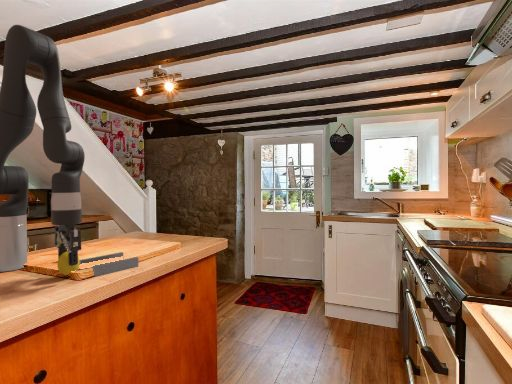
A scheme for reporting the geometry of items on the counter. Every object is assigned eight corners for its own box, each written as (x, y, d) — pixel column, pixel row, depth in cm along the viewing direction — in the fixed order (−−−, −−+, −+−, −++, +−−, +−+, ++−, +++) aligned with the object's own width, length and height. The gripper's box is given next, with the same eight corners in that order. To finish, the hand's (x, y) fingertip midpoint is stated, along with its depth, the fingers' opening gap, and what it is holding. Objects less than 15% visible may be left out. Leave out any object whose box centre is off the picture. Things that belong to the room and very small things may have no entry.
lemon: (68, 273, 90) (68, 247, 90) (84, 274, 89) (83, 248, 89) (53, 279, 85) (52, 251, 85) (69, 280, 84) (68, 252, 83)
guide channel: (79, 269, 94) (79, 260, 94) (121, 260, 105) (121, 252, 105) (94, 276, 87) (94, 266, 87) (138, 266, 98) (138, 257, 98)
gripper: (90, 208, 84) (91, 264, 84) (72, 206, 93) (73, 256, 94) (60, 210, 78) (61, 270, 79) (43, 207, 87) (45, 261, 88)
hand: (67, 262), depth 86 cm, fingers open, 8 cm apart
